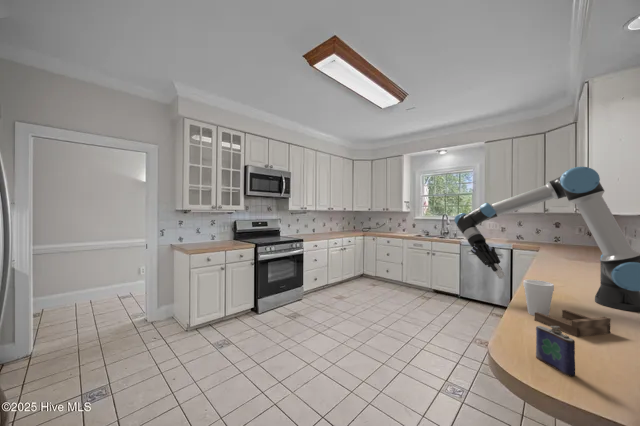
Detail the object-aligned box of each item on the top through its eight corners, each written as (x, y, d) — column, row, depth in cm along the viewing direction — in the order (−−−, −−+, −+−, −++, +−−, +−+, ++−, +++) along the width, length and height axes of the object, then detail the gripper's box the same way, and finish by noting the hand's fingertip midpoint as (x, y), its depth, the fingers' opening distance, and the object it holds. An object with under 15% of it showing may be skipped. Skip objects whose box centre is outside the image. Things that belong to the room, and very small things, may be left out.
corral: (565, 317, 100) (565, 304, 100) (610, 333, 87) (610, 318, 87) (534, 320, 97) (534, 307, 97) (576, 337, 84) (576, 321, 84)
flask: (533, 356, 72) (533, 319, 72) (542, 356, 72) (542, 318, 72) (569, 377, 63) (570, 334, 63) (579, 377, 63) (580, 333, 63)
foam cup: (559, 320, 98) (559, 286, 98) (532, 318, 99) (532, 284, 99) (543, 311, 107) (543, 280, 107) (518, 309, 109) (518, 278, 109)
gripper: (480, 242, 138) (508, 280, 122) (460, 242, 136) (485, 281, 119) (489, 233, 133) (519, 272, 117) (467, 233, 131) (495, 273, 114)
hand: (502, 276), depth 118 cm, fingers closed
